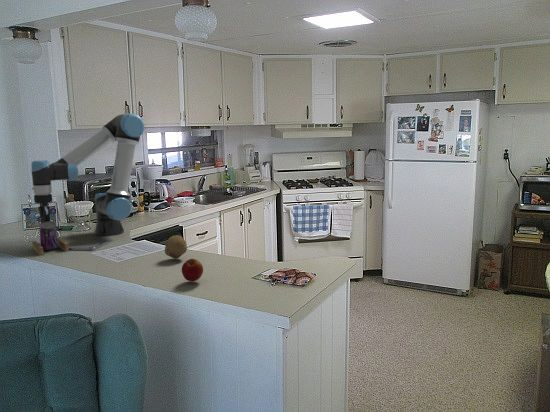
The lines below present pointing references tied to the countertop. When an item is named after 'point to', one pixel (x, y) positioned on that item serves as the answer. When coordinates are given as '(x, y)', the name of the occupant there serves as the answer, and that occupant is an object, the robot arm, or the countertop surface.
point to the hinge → (88, 247)
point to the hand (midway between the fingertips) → (47, 243)
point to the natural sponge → (175, 247)
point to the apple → (192, 270)
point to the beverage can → (48, 235)
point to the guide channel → (39, 248)
